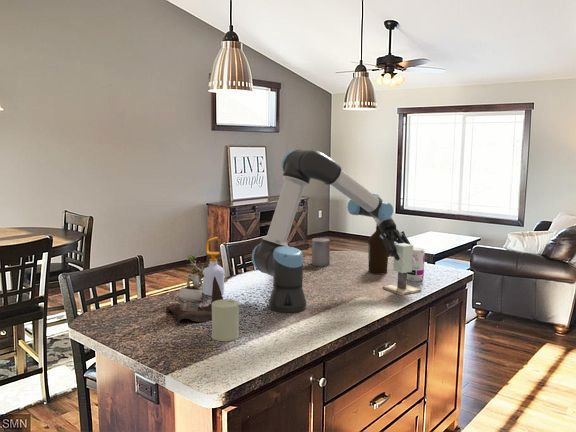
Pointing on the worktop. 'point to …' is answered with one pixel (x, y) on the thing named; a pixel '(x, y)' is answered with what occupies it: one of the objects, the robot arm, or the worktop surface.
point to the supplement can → (417, 265)
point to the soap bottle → (212, 273)
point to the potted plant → (194, 297)
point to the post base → (401, 291)
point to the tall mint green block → (404, 257)
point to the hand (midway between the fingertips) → (408, 264)
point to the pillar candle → (320, 251)
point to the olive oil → (377, 254)
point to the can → (225, 320)
